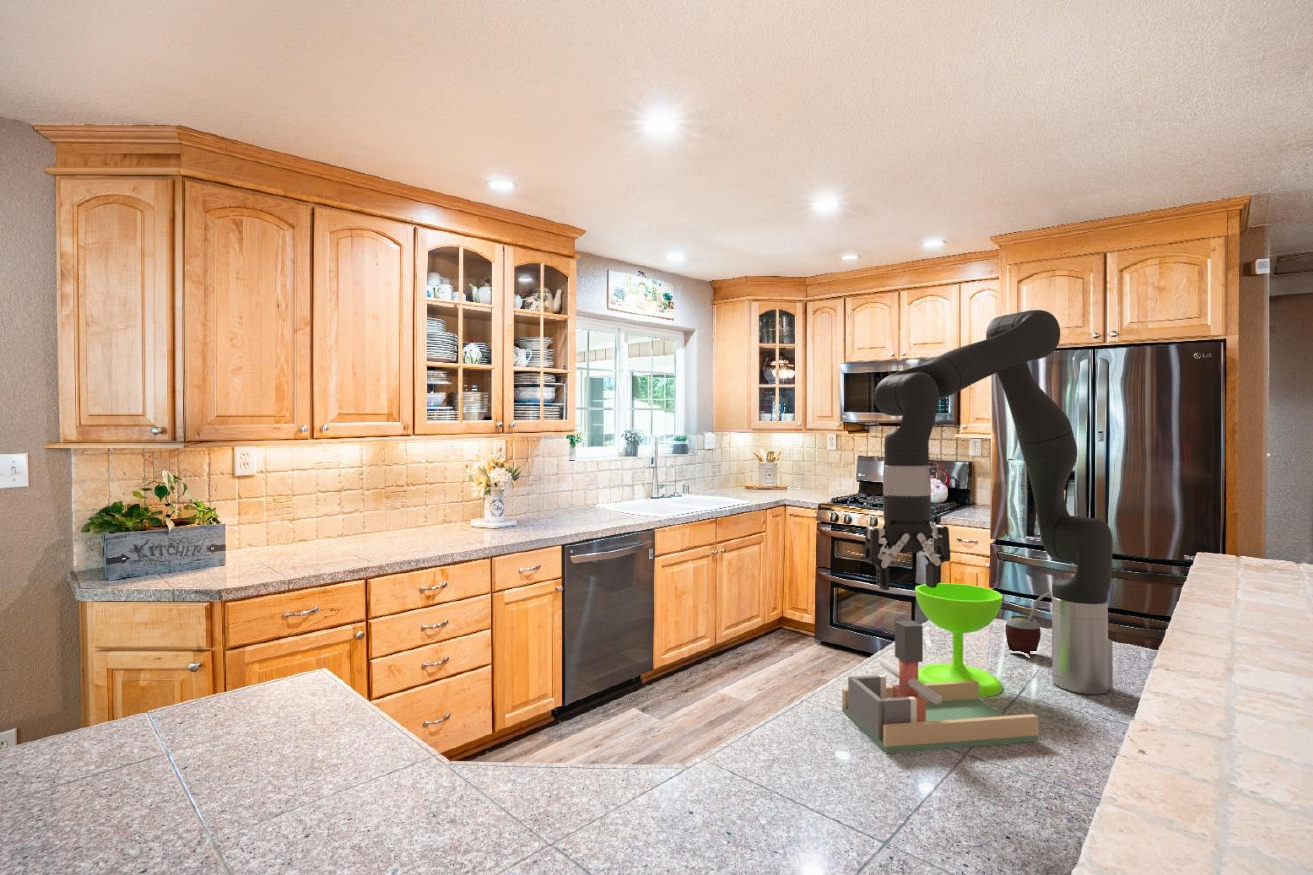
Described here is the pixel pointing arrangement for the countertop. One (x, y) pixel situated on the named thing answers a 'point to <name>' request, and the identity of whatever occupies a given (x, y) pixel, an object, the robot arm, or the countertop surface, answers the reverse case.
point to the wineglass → (959, 629)
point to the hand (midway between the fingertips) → (907, 588)
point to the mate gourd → (1024, 631)
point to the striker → (910, 666)
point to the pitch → (932, 717)
